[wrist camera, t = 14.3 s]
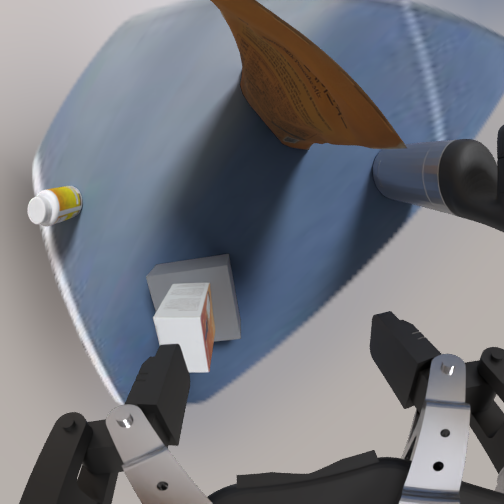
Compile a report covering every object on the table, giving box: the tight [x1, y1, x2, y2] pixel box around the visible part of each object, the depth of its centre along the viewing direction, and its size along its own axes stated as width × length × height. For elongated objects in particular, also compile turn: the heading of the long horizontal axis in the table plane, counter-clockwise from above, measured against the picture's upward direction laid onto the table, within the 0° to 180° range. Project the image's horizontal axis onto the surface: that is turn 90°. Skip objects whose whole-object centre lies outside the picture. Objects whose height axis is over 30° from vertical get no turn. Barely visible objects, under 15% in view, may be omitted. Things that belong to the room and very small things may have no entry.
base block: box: [146, 254, 241, 342], centre depth 43 cm, size 12×12×6 cm
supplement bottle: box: [28, 186, 82, 226], centre depth 35 cm, size 6×6×10 cm
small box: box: [153, 283, 215, 372], centre depth 35 cm, size 8×6×10 cm
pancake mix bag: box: [211, 0, 407, 150], centre depth 25 cm, size 7×19×28 cm, turn 37°
